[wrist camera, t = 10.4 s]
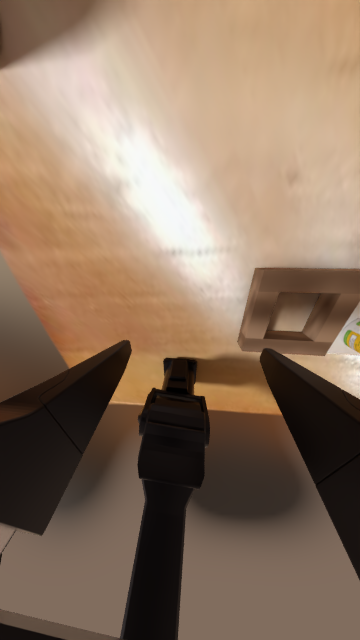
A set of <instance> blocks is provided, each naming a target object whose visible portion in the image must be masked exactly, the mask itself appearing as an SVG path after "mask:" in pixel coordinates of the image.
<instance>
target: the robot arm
mask: <svg viewBox="0 0 360 640" xmlns="http://www.w3.org/2000/svg"><path fill="white" fill-rule="evenodd" d="M131 352H132V349H131V345H130V341H129V340H123V341H121V342H119V343H117V344H115V345H113V346H111V347H109V348H108V349H106V350H104V351H102V352H100V353H98V354H96V355H94V356H93V357H91V358H89V359H87V360H85V361H83V362H81V363H79V364H77V365H76V366H74V367H72V368H70V369H68V370H66V371H64V372H62V373H60V374H59V375H57V376H55V377H53V378H51V379H49V380H47V381H45V382H43V383H40V384H38V385H37V386H34V387H32V388H30V389H28V390H26V391H24V392H22V393H19V394H17V395H15V396H13V397H11V398H9V399H7V400H5V401H2V402H1V403H0V562H1V557H2V552H3V550H4V549H5V547H6V546H7V544H8V542H9V541H10V539H11V538H12V536H13V535H14V533H15V531H19V532H24V533H29V534H34V535H40V536H42V535H43V533H44V531H45V529H46V528H47V526H48V524H49V522H50V520H51V518H52V516H53V514H54V511H55V510H56V508H57V506H58V504H59V501H60V500H61V497H62V496H63V494H64V492H65V490H66V488H67V486H68V484H69V482H70V480H71V478H72V476H73V474H74V472H75V470H76V468H77V466H78V464H79V461H80V460H81V458H82V456H83V453H84V451H85V449H86V447H87V445H88V443H89V441H90V439H91V437H92V435H93V433H94V431H95V430H96V427H97V425H98V423H99V421H100V420H101V418H102V415H103V413H104V411H105V410H106V408H107V406H108V404H109V402H110V400H111V398H112V396H113V394H114V392H115V390H116V388H117V386H118V384H119V382H120V380H121V378H122V375H123V373H124V371H125V369H126V366H127V363H128V360H129V358H130V355H131ZM163 363H164V376H165V377H164V382H163V386H162V390H160V389H156V388H152V391H151V392H150V393H149V394H148V397H147V400H146V403H145V405H144V407H143V409H142V410H141V412H140V414H139V416H138V422H139V424H140V425H139V436H143V437H142V442H141V446H140V451H139V456H138V473H139V478H140V479H142V484H143V490H144V495H145V505H144V510H143V516H142V521H141V526H140V532H139V538H138V543H137V548H136V554H135V559H134V565H133V571H132V576H131V582H130V587H129V592H128V598H127V603H126V608H125V614H124V619H123V625H122V630H121V636H120V638H116V637H112V636H108V635H104V634H99V633H96V632H91V631H87V630H83V629H79V628H75V627H71V626H67V625H63V624H59V623H54V622H50V621H46V620H42V619H38V618H34V617H30V616H25V615H22V614H18V613H14V612H9V611H5V610H1V609H0V640H178V626H179V610H180V595H181V579H182V564H183V547H184V532H185V516H186V507H187V505H188V503H189V501H190V499H191V497H192V494H193V492H194V490H195V489H200V487H201V484H202V481H203V479H204V458H205V447H206V448H207V447H208V444H209V436H210V424H209V416H208V411H207V406H206V401H205V397H204V396H196V395H194V384H195V380H196V367H197V362H196V361H195V360H182V359H167V358H166V359H164V361H163ZM260 363H261V365H262V368H263V371H264V374H265V377H266V380H267V383H268V385H269V387H270V389H271V391H272V394H273V396H274V398H275V400H276V402H277V404H278V406H279V409H280V411H281V413H282V415H283V417H284V419H285V421H286V424H287V426H288V428H289V430H290V432H291V434H292V436H293V438H294V441H295V442H296V445H297V447H298V449H299V451H300V453H301V456H302V458H303V460H304V462H305V464H306V466H307V468H308V471H309V473H310V475H311V477H312V479H313V481H314V483H315V484H316V488H317V490H318V492H319V494H320V496H321V499H322V501H323V503H324V505H325V507H326V509H327V511H328V514H329V516H330V518H331V520H332V522H333V524H334V526H335V528H336V530H337V533H338V535H339V537H340V539H341V541H342V543H343V546H344V548H345V550H346V552H347V554H348V556H349V558H350V560H351V562H352V565H353V567H354V569H355V571H356V573H357V575H358V578H359V580H360V399H358V398H356V397H355V396H353V395H351V394H349V393H348V392H346V391H344V390H341V388H339V387H337V386H335V385H334V384H332V383H330V382H328V381H327V380H325V379H323V378H322V377H320V376H318V375H316V374H315V373H313V372H311V371H309V370H308V369H306V368H304V367H303V366H301V365H299V364H297V363H296V362H294V361H292V360H290V359H289V358H287V357H285V356H283V355H282V354H280V353H278V352H277V351H275V350H273V349H271V348H264V349H263V350H262V353H261V356H260Z"/></svg>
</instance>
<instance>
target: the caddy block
mask: <svg viewBox="0 0 360 640" xmlns="http://www.w3.org/2000/svg"><path fill="white" fill-rule="evenodd" d="M279 292H295V293H321V294H320V296H319V298H318V300H317V302H316V304H315V306H314V308H313V310H312V312H311V314H310V316H309V318H308V320H307V322H306V324H305V326H304V329H303V331H302V332H287V331H266V329H267V326H268V324H269V321H270V318H271V315H272V312H273V309H274V306H275V303H276V300H277V297H278V295H279ZM359 302H360V270H358V269H294V268H255V271H254V275H253V279H252V283H251V287H250V292H249V296H248V300H247V304H246V308H245V312H244V316H243V321H242V325H241V329H240V333H239V337H238V341H237V342H238V344H239V346H240V348H241V350H242V351H247V352H262V350H263V349H264V348H271V349H273V350H275V351H277V352H278V353H282V354H299V355H316V356H325V355H326V353H327V351H328V350H329V348H330V347H331V345H332V344H333V342H334V341H335V339H336V338H337V336H338V334H339V333H340V331H341V330H342V328H343V327H344V325H345V324H346V322H347V320H348V319H349V317H350V316H351V314H352V313H353V311H354V310H355V308H356V307H357V305H358V303H359Z"/></svg>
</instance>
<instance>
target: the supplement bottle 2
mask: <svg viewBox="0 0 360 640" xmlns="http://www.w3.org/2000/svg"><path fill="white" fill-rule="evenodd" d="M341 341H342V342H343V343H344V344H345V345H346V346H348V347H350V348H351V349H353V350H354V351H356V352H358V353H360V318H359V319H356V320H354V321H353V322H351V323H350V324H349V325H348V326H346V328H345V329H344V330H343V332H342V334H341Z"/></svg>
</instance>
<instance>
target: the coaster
mask: <svg viewBox="0 0 360 640" xmlns="http://www.w3.org/2000/svg"><path fill="white" fill-rule="evenodd" d="M359 318H360V302H359V303H358V305H357V307H356V308H355V310H354V311H353V313H352V314H351V316H350V317H349V319H348V320H347V322H346V324H345V325H344V327H343V328H342V330H341V331H340V333H339V334H338V336H337V338H336V339H335V341H334V342H333V344H332V345H331V347H330V348H329V350H328V351H327V353H326V354H343V355H360V353H358V352H356V351H354V350H353V349H351V348H350V347H348V346H346V345H345V344H344V343H343V342H342V341H341V334H342V332H343V330H344V329H345V328H346V326H348V325H349V324H350V323H351V322H353V321H354V320H356V319H359Z"/></svg>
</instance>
